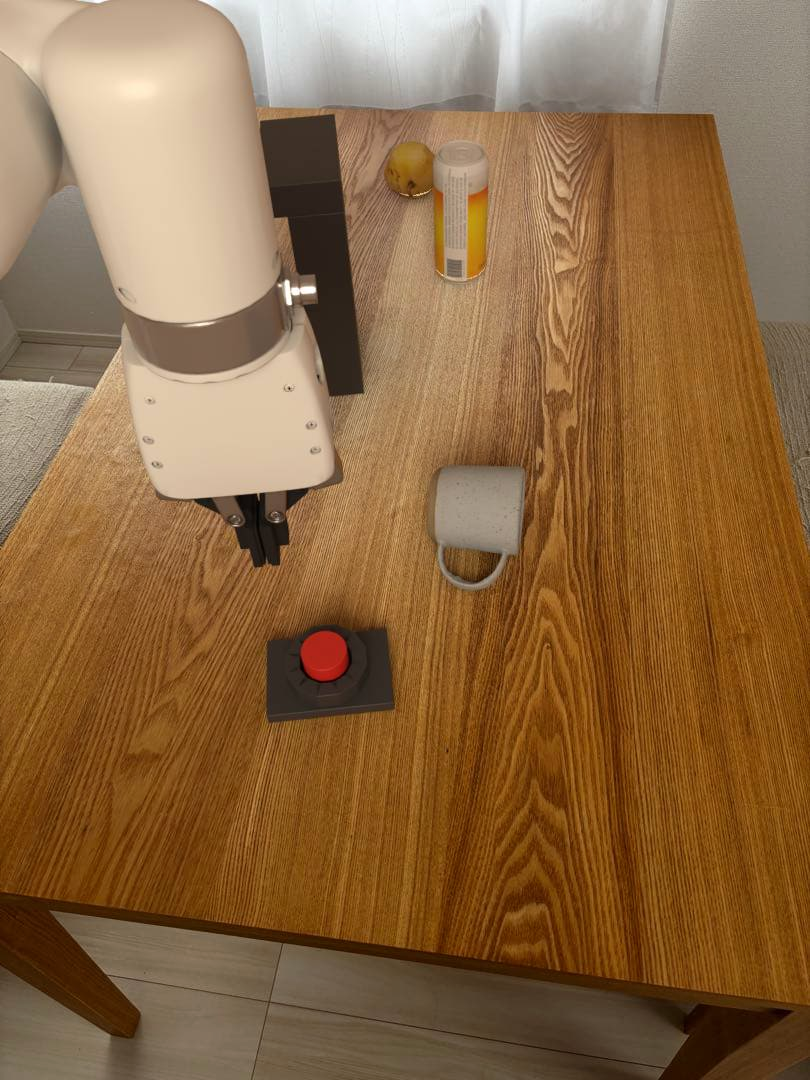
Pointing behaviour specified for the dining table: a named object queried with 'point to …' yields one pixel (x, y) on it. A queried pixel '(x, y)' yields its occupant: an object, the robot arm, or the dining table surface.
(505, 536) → the ceramic mug
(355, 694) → the pad
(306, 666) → the button
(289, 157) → the coffee maker
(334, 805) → the dining table surface
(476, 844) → the dining table surface
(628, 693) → the dining table surface
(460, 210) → the beer can
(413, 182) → the fruit
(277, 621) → the dining table surface
